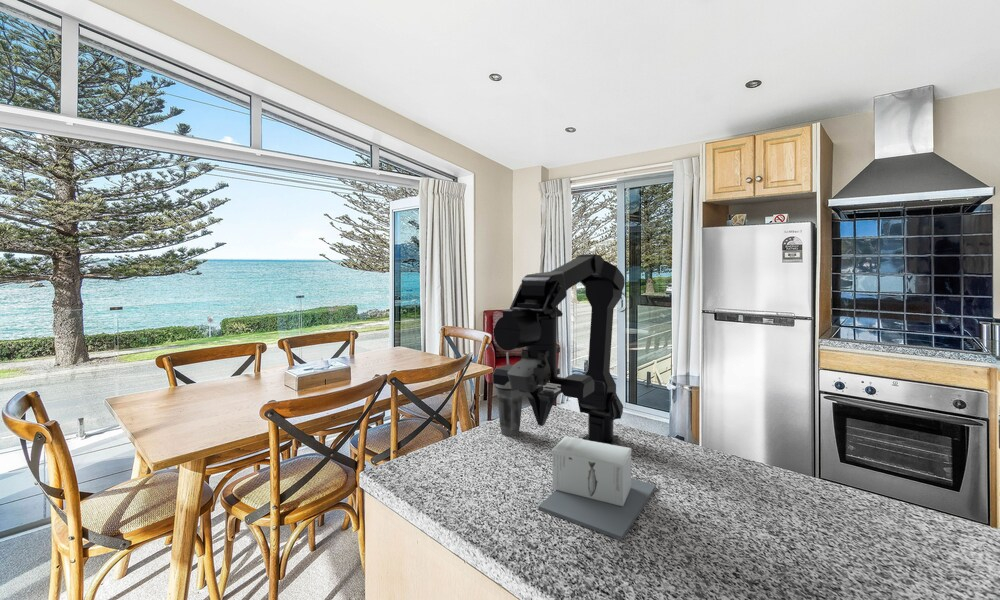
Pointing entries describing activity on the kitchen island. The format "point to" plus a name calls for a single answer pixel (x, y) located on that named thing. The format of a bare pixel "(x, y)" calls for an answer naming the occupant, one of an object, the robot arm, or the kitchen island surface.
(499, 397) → the beverage cup
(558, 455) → the supplement box
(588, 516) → the mat
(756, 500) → the kitchen island surface
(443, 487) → the kitchen island surface
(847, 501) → the kitchen island surface
